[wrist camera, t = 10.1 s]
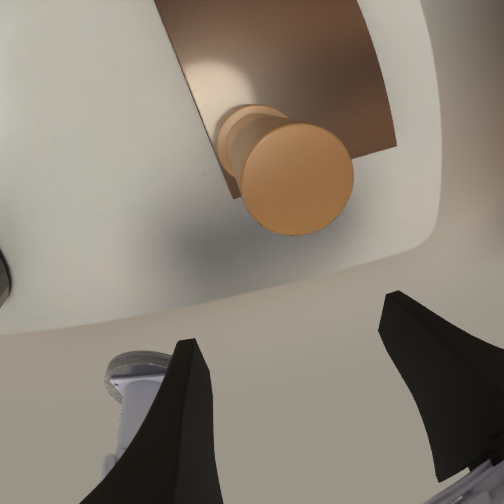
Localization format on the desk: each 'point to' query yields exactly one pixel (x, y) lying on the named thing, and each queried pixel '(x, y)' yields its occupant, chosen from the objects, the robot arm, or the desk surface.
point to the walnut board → (283, 65)
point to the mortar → (3, 283)
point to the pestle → (284, 168)
